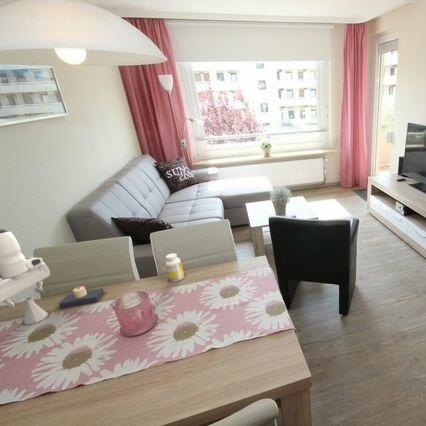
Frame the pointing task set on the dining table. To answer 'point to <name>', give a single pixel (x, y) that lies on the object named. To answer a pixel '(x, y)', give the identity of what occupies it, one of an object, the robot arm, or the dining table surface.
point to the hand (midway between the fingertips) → (27, 298)
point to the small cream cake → (79, 292)
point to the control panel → (82, 298)
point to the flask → (32, 311)
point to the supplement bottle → (174, 267)
